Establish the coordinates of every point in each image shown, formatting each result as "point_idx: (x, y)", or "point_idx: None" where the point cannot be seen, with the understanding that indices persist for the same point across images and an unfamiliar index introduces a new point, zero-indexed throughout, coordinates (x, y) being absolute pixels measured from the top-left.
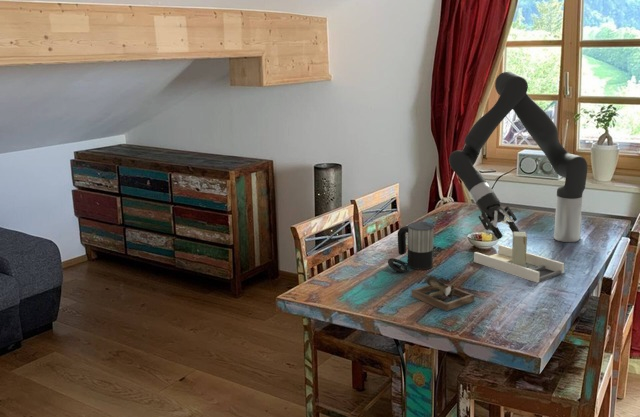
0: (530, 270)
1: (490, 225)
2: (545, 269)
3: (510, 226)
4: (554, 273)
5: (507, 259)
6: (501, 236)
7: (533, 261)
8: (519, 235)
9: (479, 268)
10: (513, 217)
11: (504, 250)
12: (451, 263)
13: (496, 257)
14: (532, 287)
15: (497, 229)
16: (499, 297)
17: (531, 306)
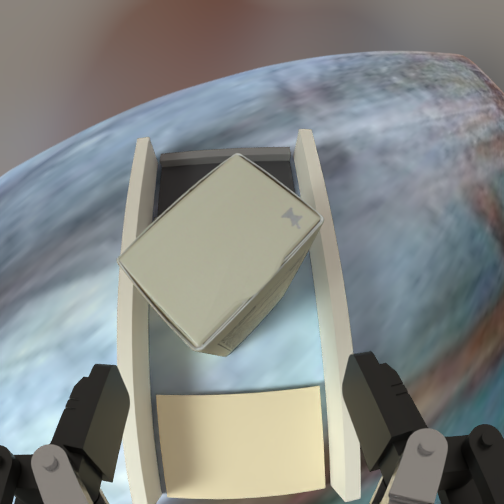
0: (317, 156)
1: (488, 434)
2: None
3: (106, 463)
4: (201, 151)
5: (193, 413)
6: (366, 352)
7: None
8: (269, 203)
9: None
10: (4, 483)
11: (148, 470)
12: None
13: (217, 465)
14: (345, 144)
15: (400, 409)
16: (459, 163)
17: (415, 98)
